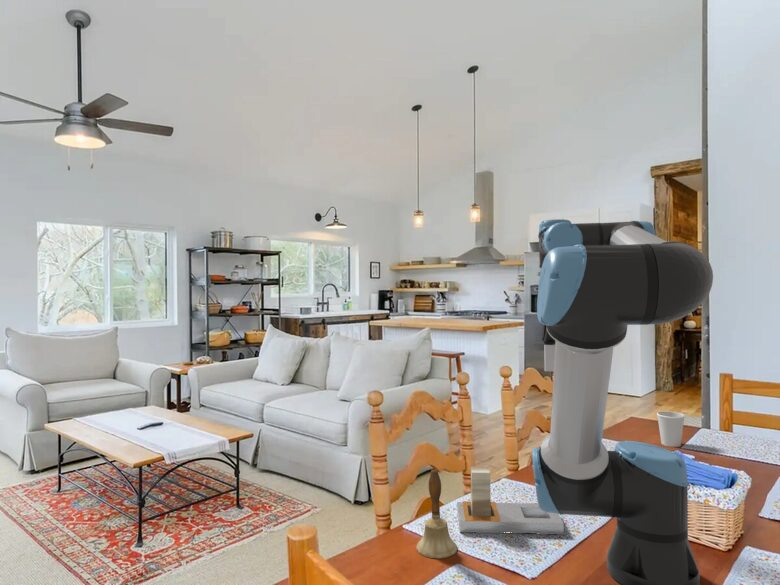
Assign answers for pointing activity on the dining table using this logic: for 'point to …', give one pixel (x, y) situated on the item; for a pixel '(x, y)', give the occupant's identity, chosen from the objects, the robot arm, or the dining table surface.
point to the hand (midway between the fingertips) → (557, 375)
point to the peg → (480, 491)
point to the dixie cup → (670, 428)
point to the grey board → (510, 519)
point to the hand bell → (436, 527)
